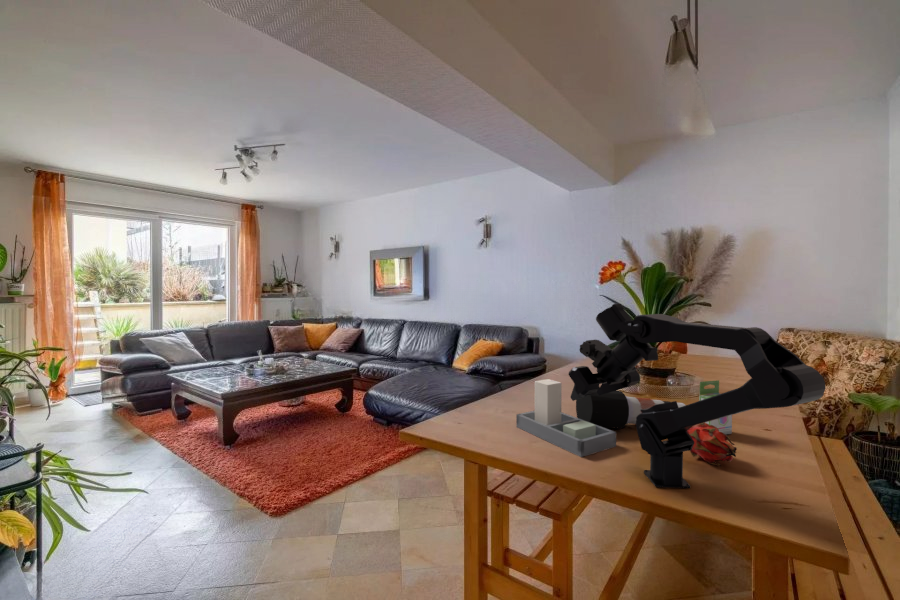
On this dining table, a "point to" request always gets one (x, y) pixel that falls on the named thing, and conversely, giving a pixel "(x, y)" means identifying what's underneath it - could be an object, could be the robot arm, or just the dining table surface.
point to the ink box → (721, 423)
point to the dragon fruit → (711, 444)
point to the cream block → (548, 401)
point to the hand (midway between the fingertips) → (585, 396)
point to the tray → (569, 433)
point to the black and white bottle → (613, 409)
